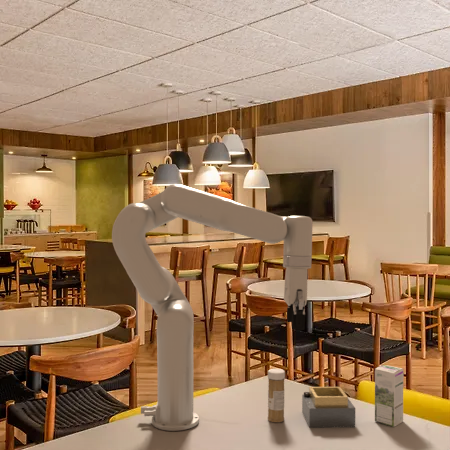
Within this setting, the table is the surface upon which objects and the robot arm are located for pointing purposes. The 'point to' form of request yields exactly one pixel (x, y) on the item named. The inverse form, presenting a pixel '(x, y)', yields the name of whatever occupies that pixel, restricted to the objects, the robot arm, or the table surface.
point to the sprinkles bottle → (276, 395)
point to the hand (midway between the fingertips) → (295, 325)
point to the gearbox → (327, 408)
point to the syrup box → (389, 395)
